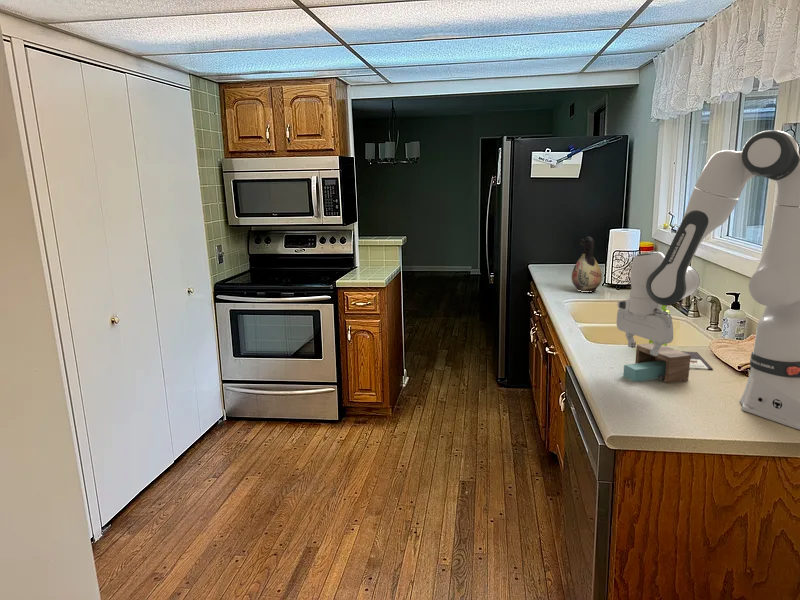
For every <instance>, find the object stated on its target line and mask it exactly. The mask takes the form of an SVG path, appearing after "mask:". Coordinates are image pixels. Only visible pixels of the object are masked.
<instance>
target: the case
mask: <svg viewBox="0 0 800 600" xmlns="http://www.w3.org/2000/svg"><path fill="white" fill-rule="evenodd" d="M665 371H666V362H664V361H662V360H660V361H652V362H644V363H629V364H623V374H622V376H623V377H625V378H626V379H628V380H629V381H633V382H635V383H636V382H642V381H643V382H644V381H650V380H656V379H658V380H659V376H662V375H665Z"/></svg>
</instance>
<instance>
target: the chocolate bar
mask: <svg viewBox="0 0 800 600" xmlns="http://www.w3.org/2000/svg"><path fill="white" fill-rule="evenodd" d="M680 351H681V350H680ZM681 352H684V353H686V354H689V355H691V358H690V368H689V370H700V371H701V370H704V371H714V370H713V369H714V368H713V367H712V366H711V365H710V364H709V363H708V362H707V361H706V360H705V359H704V357H702V356H701V354H699V352H697V351H684V350H682V351H681Z"/></svg>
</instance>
